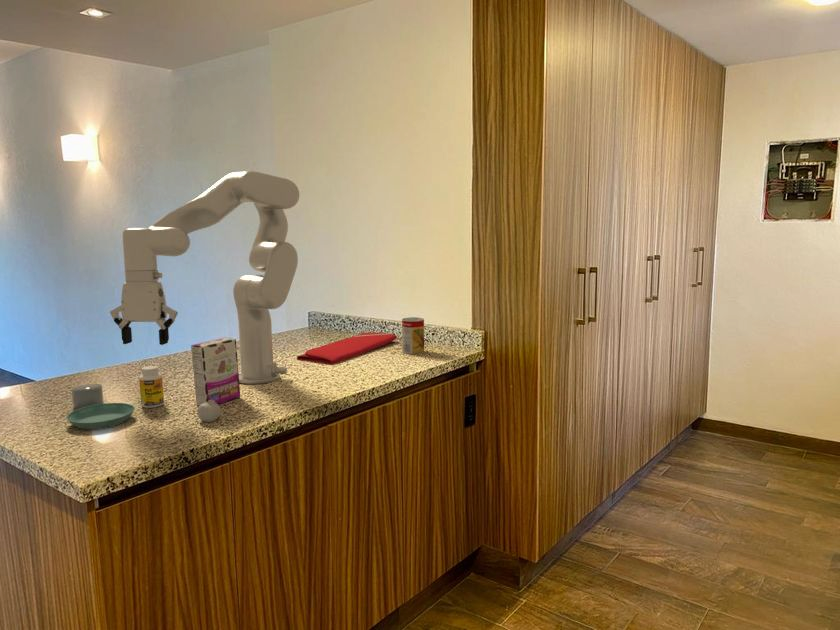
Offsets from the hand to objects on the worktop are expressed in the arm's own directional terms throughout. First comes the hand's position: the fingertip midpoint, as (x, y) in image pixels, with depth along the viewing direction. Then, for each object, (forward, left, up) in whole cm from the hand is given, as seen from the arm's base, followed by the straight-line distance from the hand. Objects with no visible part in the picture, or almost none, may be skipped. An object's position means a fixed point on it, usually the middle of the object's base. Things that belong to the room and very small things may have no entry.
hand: (145, 343), depth 159 cm
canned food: (-63, -65, -17) cm, 93 cm away
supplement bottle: (0, 0, -17) cm, 17 cm away
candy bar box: (-16, -4, -17) cm, 24 cm away
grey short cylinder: (+17, +1, -17) cm, 24 cm away
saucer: (+6, +13, -17) cm, 22 cm away
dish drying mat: (-40, -68, -17) cm, 80 cm away
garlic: (-20, +11, -17) cm, 28 cm away
